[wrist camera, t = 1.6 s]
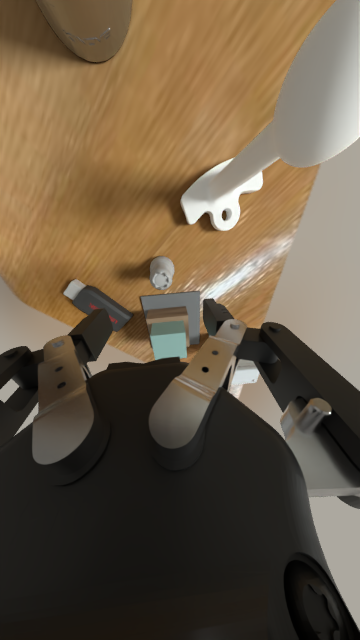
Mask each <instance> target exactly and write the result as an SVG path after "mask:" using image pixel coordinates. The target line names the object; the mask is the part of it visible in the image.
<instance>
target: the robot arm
mask: <svg viewBox="0 0 360 640" xmlns="http://www.w3.org/2000/svg"><path fill="white" fill-rule="evenodd" d="M36 2H37V4H38V6H39V8H40V9H41V11H42V13H43V15H44V16H45V18H46V20H47V21H48V23H49V24H50V26H51V27H52V29H53V30H54V32H55V33H56V35H57V36H58V37H59V39H60V40H61V41H62V42H63V43H64V44H65V45H66V46H67V48H69V49H70V50H71V51H72V52H74V53H75V54H76V55H77V56H79V57H81V58H83V59H85V60H87V61H92V62H102V61H106V60H108V59H109V58H111V57H112V56H114V55H115V54H116V52H117V51H118V50H119V48H120V47H121V46H122V44H123V41H124V39H125V37H126V34H127V31H128V27H129V23H130V18H131V8H132V0H36ZM203 321H204V324H205V327H206V329H207V332H208V334H209V337H208V338H207V340H206V341H205V343H204V344H203V345H202V347H201V348H200V349H199V351H198V352H197V354H196V355H195V356H194V358H193V359H192V360H191V362H190V363H186V362H180V356H178V357H169V358H161V359H158V360H155V361H151V362H148V363H144V364H141V363H132V362H121V363H112V364H109V365H108V367H107V369H106V370H104V371H101V372H99V373H97V374H95V375H93V376H92V375H91V372H90V370H89V367H88V365H87V362H91V361H96V360H97V358H98V356H99V355H100V353H101V351H102V349H103V347H104V346H105V344H106V342H107V340H108V339H109V337H110V335H111V333H112V331H113V325H112V322H111V320H110V317H109V314H108V312H107V310H106V309H105V308H102V309H94V310H93V311H92V312H91V313H90V315H89V316H87V317H86V318H84V319H83V320H82V321H81V322H80V323H79V324H78V325H77V326H76V327H75V328H74V329H73V330H72V331H71V332H70V333H69V334H68V335H66V336H60V337H57V338H54V339H52V340H51V341H49V342H47V343H46V344H45V345H44V347H43V349H41V350H37V351H34V352H31V351H30V350H29V348H28V347H26V346H21V347H16V348H13V349H10V350H8V351H6V352H4V353H3V354H1V355H0V389H1V388H2V387H3V386H4V385H5V384H6V383H7V382H8V381H9V380H10V379H13V380H14V381H15V382H16V383H17V384H18V385H19V386H20V387H19V388H18V389H17V390H16V391H15V392H14V393H13V394H12V395H11V396H10V398H9V399H8V400H7V401H6V402H5V403H3V402H2V401H1V400H0V640H360V630H359V629H358V627H357V625H356V623H355V621H354V619H353V618H352V615H351V614H350V612H349V610H348V608H347V606H346V604H345V602H344V600H343V598H342V596H341V594H340V592H339V590H338V588H337V586H336V584H335V582H334V579H333V577H332V575H331V572H330V570H329V568H328V565H327V562H326V560H325V557H324V554H323V551H322V548H321V546H320V543H319V539H318V536H317V533H316V529H315V526H314V523H313V518H312V514H311V509H310V504H309V498H308V497H326V496H337V497H338V498H339V499H340V500H342V501H343V502H345V503H346V504H348V505H350V506H352V507H354V508H358V509H360V391H359V390H357V389H356V388H355V387H354V386H353V385H352V384H351V383H349V382H348V381H347V380H346V379H345V378H344V377H343V376H341V375H340V374H339V373H338V372H337V371H336V370H334V369H333V368H332V367H331V366H330V365H329V364H328V363H326V362H325V361H324V360H323V359H322V358H321V357H320V356H318V355H317V354H316V353H315V352H314V351H313V350H311V349H310V348H309V347H308V346H307V345H306V344H305V343H303V342H302V341H301V340H300V339H299V338H298V337H297V336H295V335H294V334H293V333H292V332H291V331H290V330H289V329H287V328H286V327H285V326H283V325H281V324H278V323H274V322H266V323H263V324H262V326H261V329H256V328H248V327H247V325H246V324H245V323H244V322H243V321H240V320H236V319H234V318H233V316H232V315H231V314H230V313H229V311H228V310H227V309H226V308H225V306H223V305H221V304H217V303H216V302H215V301H214V299H213V298H212V299H204V300H203ZM278 358H279V359H278ZM240 359H242V360H249V361H253V362H254V364H255V366H256V367H257V369H258V371H259V373H260V374H261V376H262V378H263V379H264V381H265V383H266V384H267V386H268V388H269V390H270V391H271V393H272V395H273V396H274V398H275V400H276V401H277V403H278V405H279V407H280V408H281V410H282V412H283V415H282V416H281V419H280V422H281V423H280V424H281V427H282V430H283V432H284V436H285V440H284V439H283V438H282V437H281V435H280V434H279V433H278V432H277V431H276V430H275V429H274V428H273V427H272V426H270V425H269V424H268V423H267V422H265V421H264V420H263V419H262V418H260V417H259V416H258V415H257V414H255V413H254V412H253V411H252V410H250V409H249V408H248V407H247V406H245V405H244V404H243V403H242V402H240V401H239V400H238V399H237V398H235V397H234V396H233V395H232V394H230V393H229V390H230V386H231V383H232V380H233V377H234V374H235V372H236V369H237V366H238V364H239V361H240ZM37 403H38V406H39V407H38V409H39V410H38V414H37V415H36V416H35V417H34V419H33V422H32V423H31V424H30V425H28V426H27V427H26V428H24V429H23V430H22V431H20V432H19V433H18V434H17V435H15V434H16V432H17V431H18V429H19V428H20V426H21V425H22V424H23V422H24V421H25V420H26V418H27V417H28V415H29V414H30V413H31V411H32V410H33V408H34V407H35V406H36V404H37ZM14 435H15V436H14Z"/></svg>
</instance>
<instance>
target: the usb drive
mask: <svg viewBox="0 0 360 640" xmlns="http://www.w3.org/2000/svg"><path fill="white" fill-rule="evenodd" d="M63 294H64V295H66V296H67V297H69V298H70V299H72V300H73V302H72V303H73V304H74V305H75V306H76V307H77V308H78V309H80V310H81V311H83V312H84V313H86V314H88V315H90V313H91V312H92V311H93V310H94V309H102V308H105V309H106V310H107V312H108V314H109V317H110V320H111V322H112V325H113V331H116V332H117V331H119V330H120V329H121V328H122V327H123V326H124V325H125V324H126V323H127V322H128V321H129V320H130V319H131V317H132V316H133V314H132V313H131V312H129V311H128V310H127V309H125V308H124V307H122V306H121V305H120V304H118V303H117V302H115V301H114V300H113V299H111V298H110V297H108V296H107V295H106V294H104V293H103V292H101V291H100V290H99V289H97V288H96V287H93V286H89V285H87V286H86V285H84V284H83V283H81V282H80V281H79V280H77V279H75V280H73V281H71V283H70V284H69V286H68V287H67V289H66V290H65V292H64V293H63Z"/></svg>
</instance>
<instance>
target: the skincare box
mask: <svg viewBox="0 0 360 640" xmlns="http://www.w3.org/2000/svg"><path fill="white" fill-rule="evenodd" d="M258 376H259V371H258V369H257V367H256V366H255V364H254V362H253V361H249V360H242V359H240V361H239V364H238V366H237V369H236V372H235V374H234V377H233V380H232V383H231V384H245V383H256V381H257V378H258Z"/></svg>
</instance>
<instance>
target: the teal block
mask: <svg viewBox="0 0 360 640" xmlns="http://www.w3.org/2000/svg"><path fill="white" fill-rule="evenodd" d="M150 337H151V342H152V346H153V351H154V355H155V360H158V359H161V358H169V357H178V356H180V358H187V350H186V333H185V327H184V322H183V320H181V321H171V322H161V323H152V328H151V334H150Z"/></svg>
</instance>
